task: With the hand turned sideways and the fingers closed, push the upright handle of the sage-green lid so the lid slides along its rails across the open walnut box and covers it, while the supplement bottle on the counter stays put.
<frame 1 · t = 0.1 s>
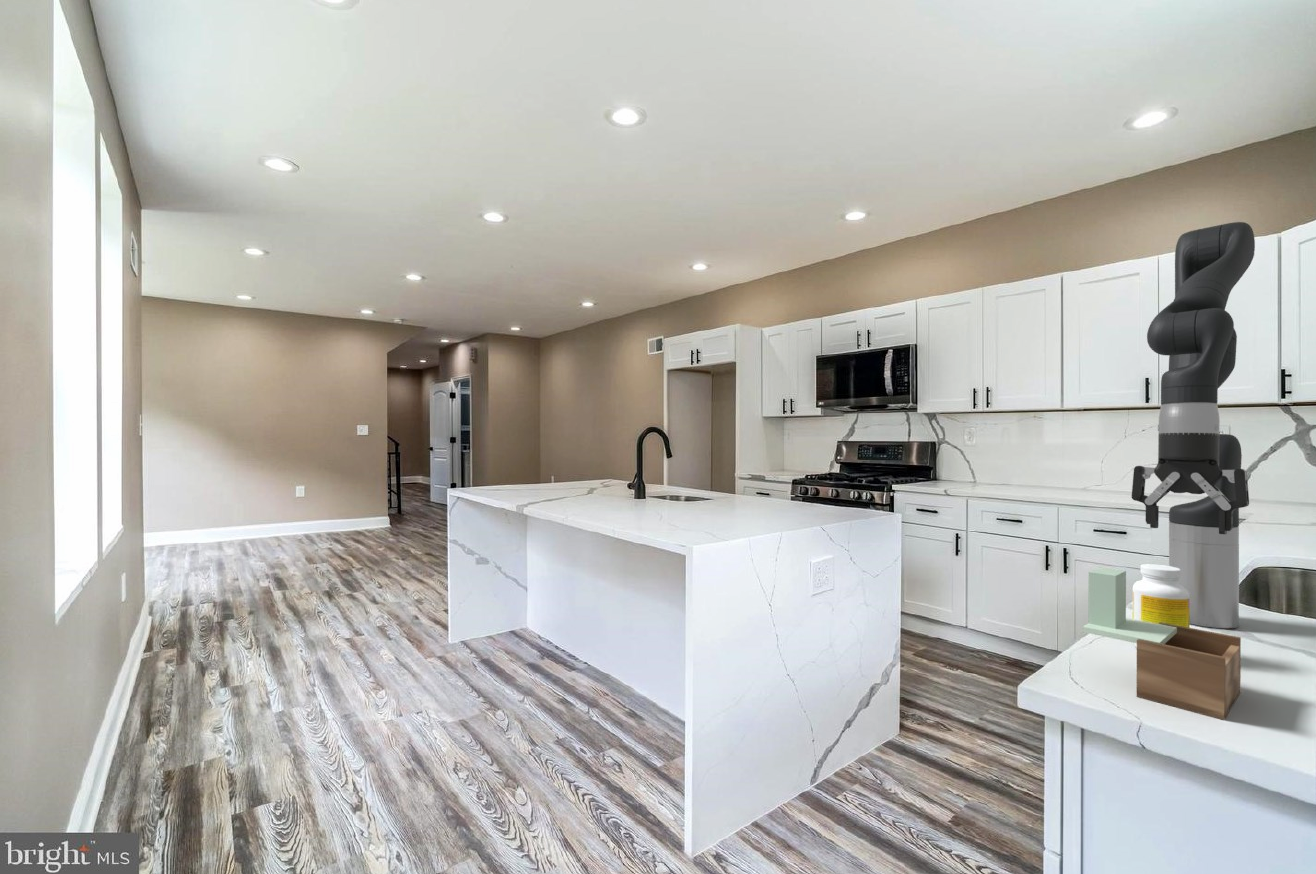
hand: (1187, 530, 98), 17 cm above the counter, tool pointing down, fingers open, 8 cm apart
walnut box: (1189, 694, 75), on the counter
supplement bottle: (1160, 653, 91), on the counter
sage lid: (1130, 603, 80), point 10 cm above the counter, slide at 6.0 cm
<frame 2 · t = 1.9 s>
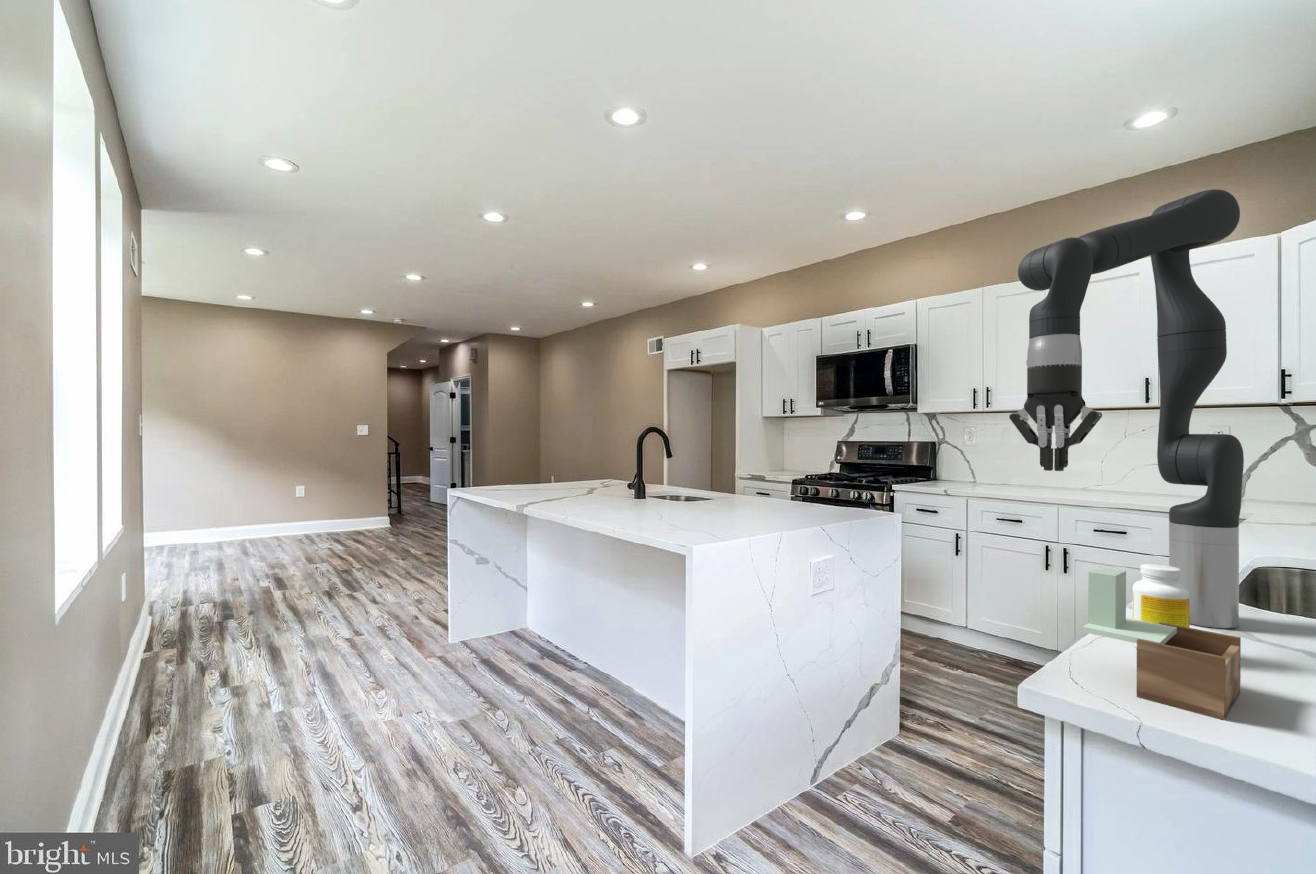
hand: (1053, 470, 99), 27 cm above the counter, tool pointing down, fingers closed
nothing on the counter moved.
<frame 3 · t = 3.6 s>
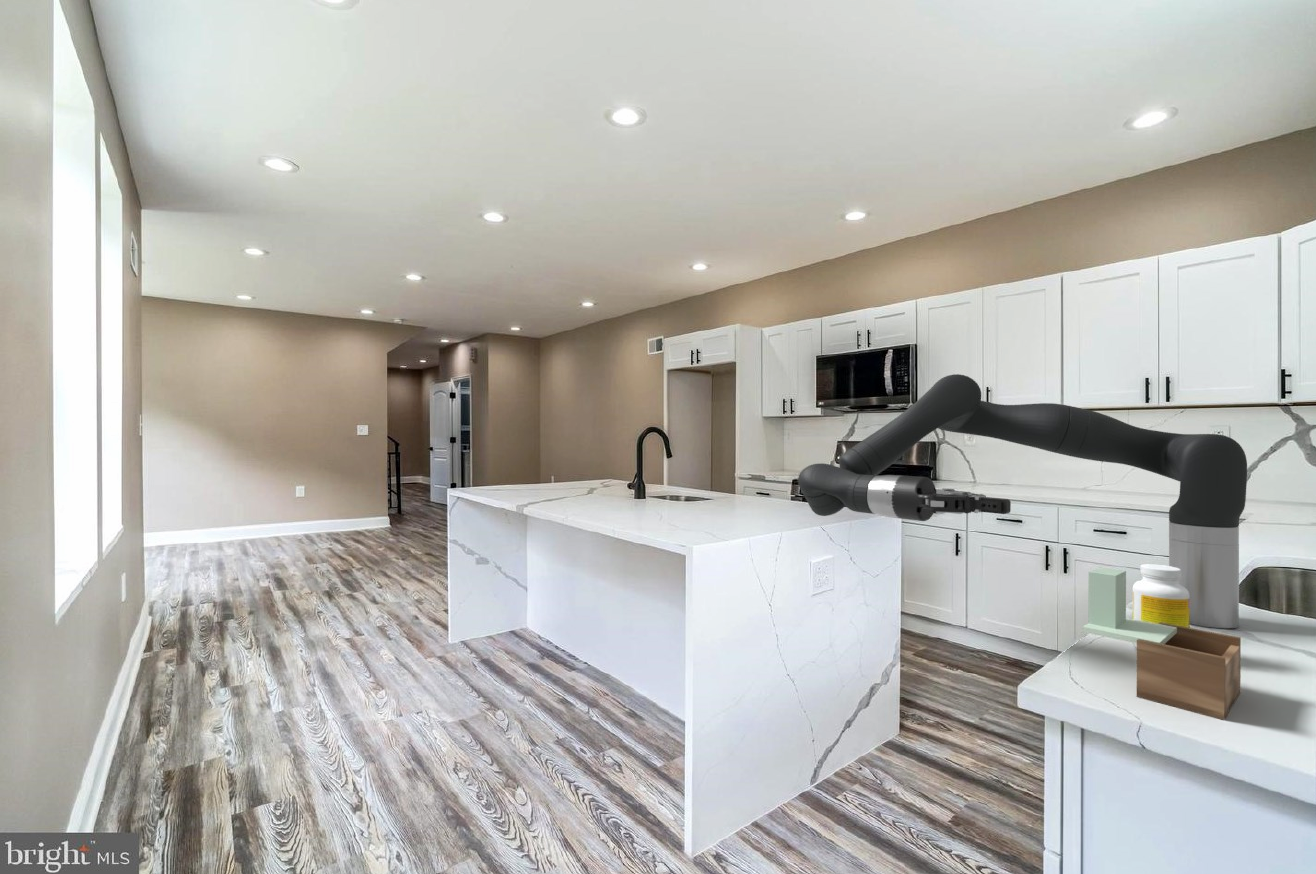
hand: (1008, 506, 92), 22 cm above the counter, tool horizontal, fingers closed
nothing on the counter moved.
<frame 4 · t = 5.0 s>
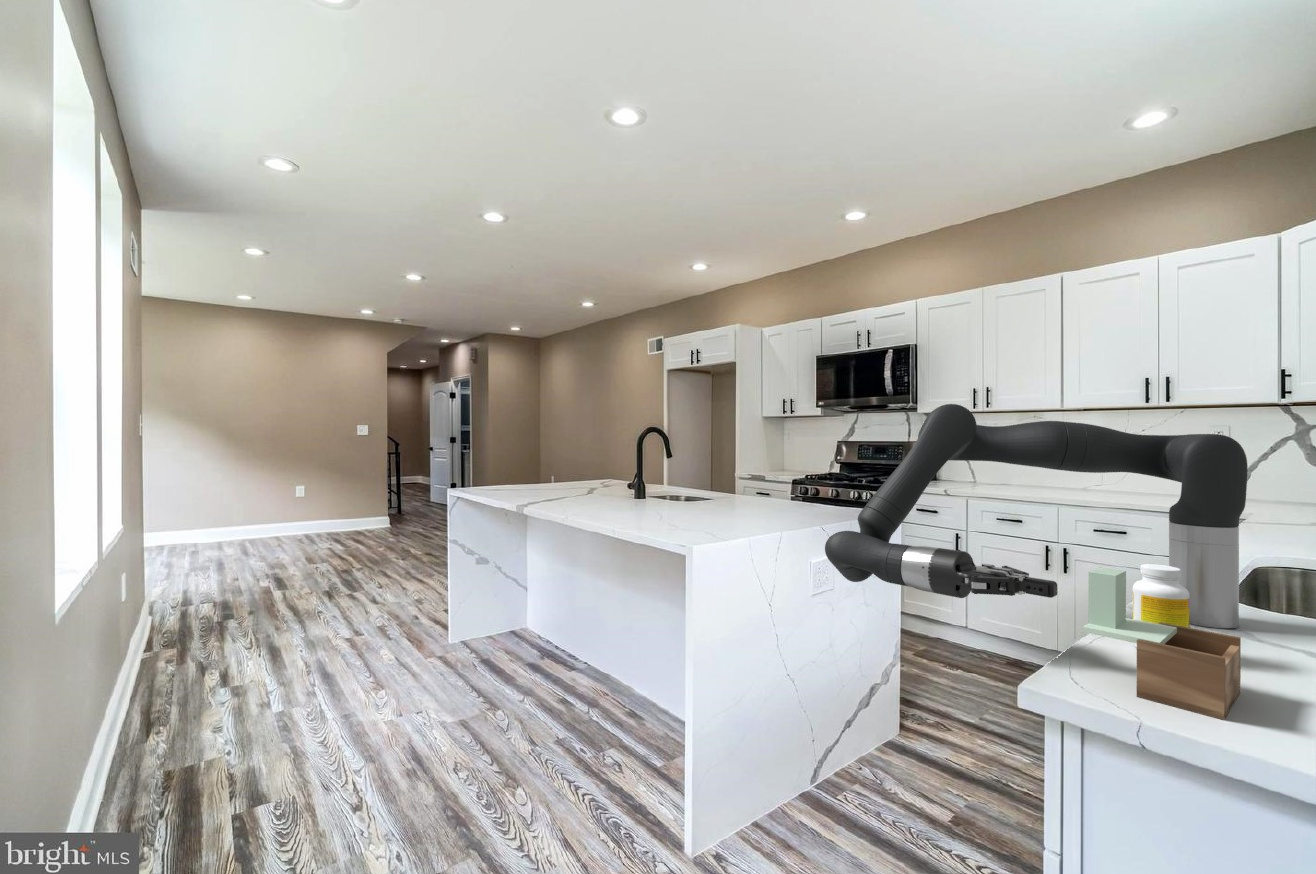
hand: (1055, 589, 87), 10 cm above the counter, tool horizontal, fingers closed
nothing on the counter moved.
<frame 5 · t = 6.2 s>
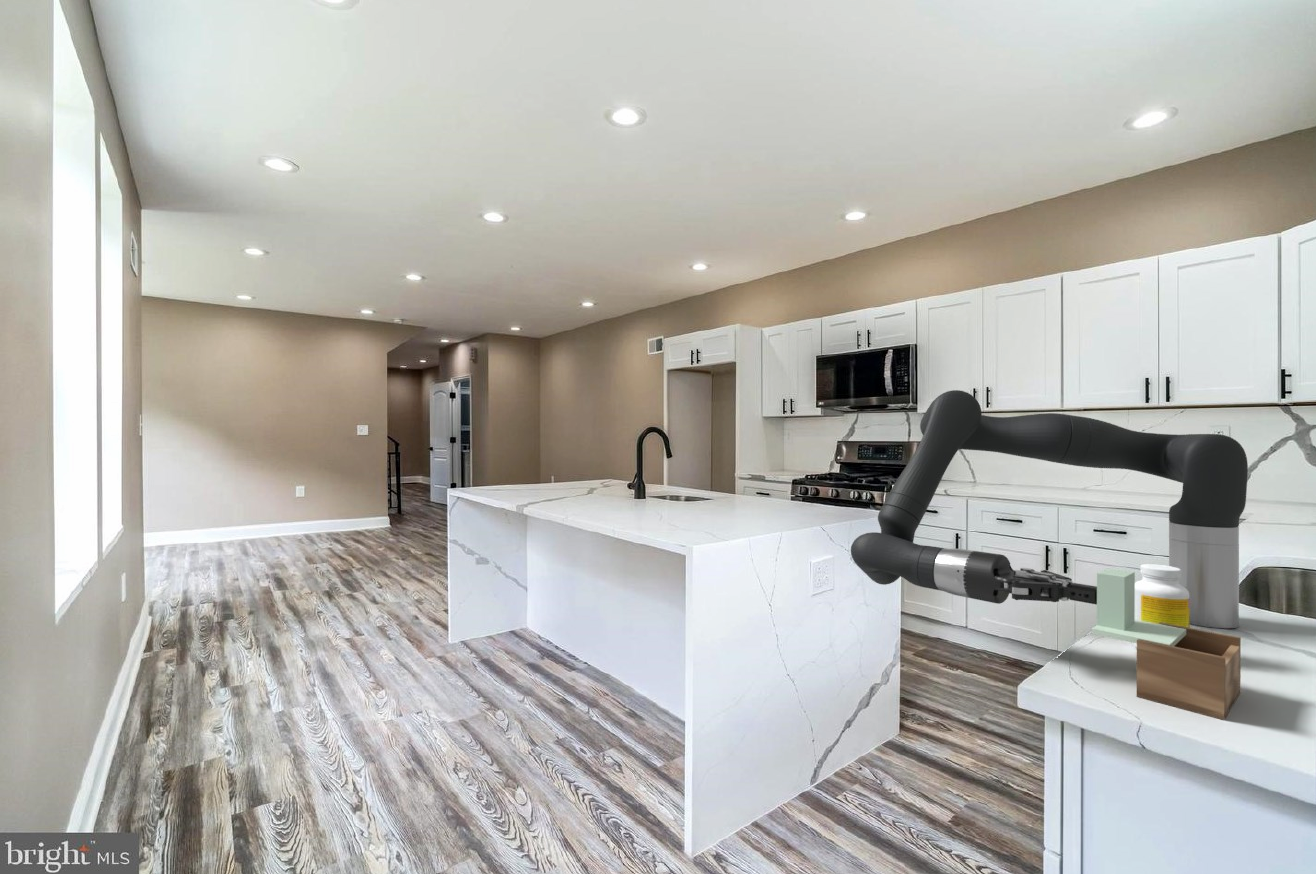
hand: (1102, 596, 83), 10 cm above the counter, tool horizontal, fingers closed
sage lid: (1138, 605, 79), point 10 cm above the counter, slide at 5.0 cm, touching gripper
everything else where it was.
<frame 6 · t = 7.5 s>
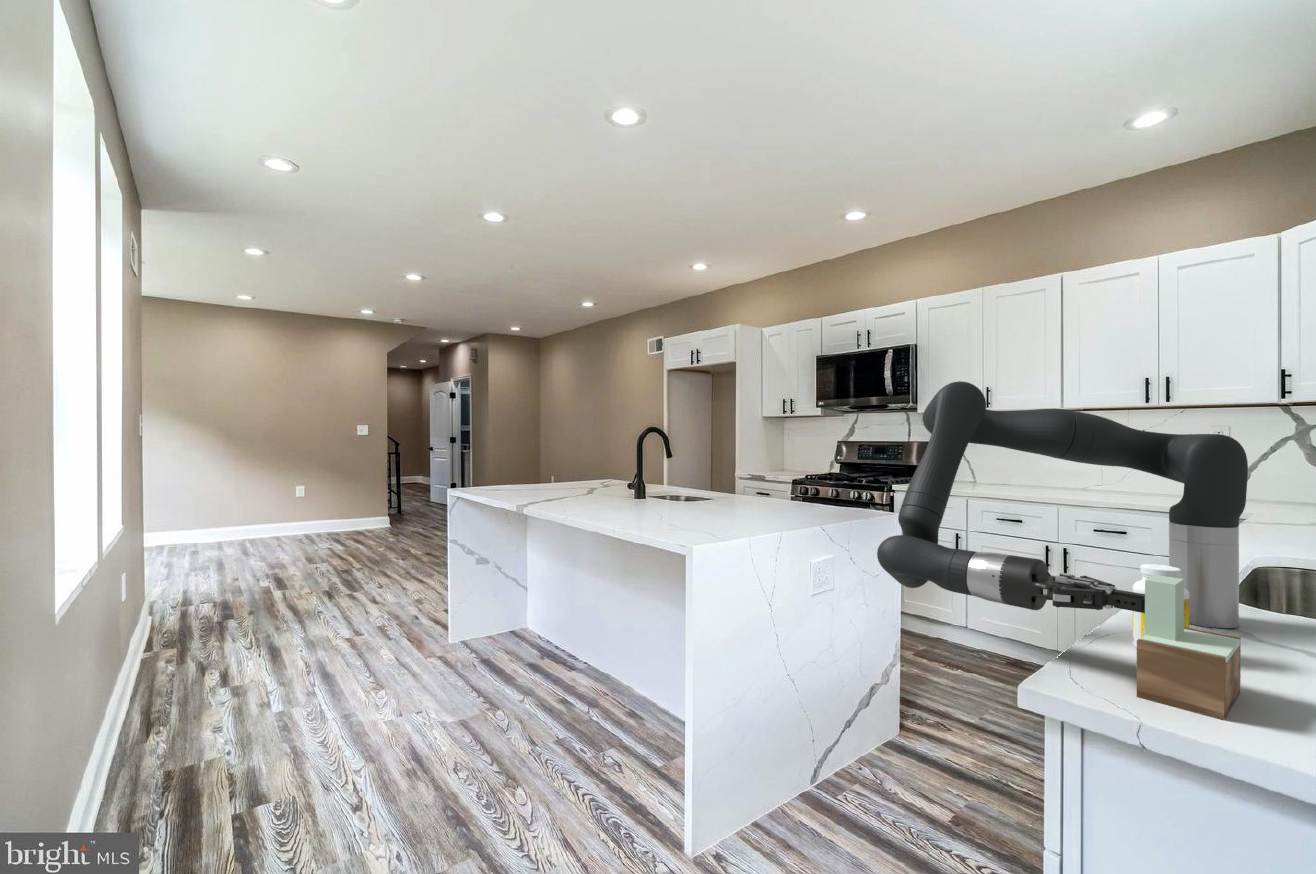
hand: (1149, 604, 79), 10 cm above the counter, tool horizontal, fingers closed
sage lid: (1190, 613, 75), point 10 cm above the counter, slide at -0.1 cm, touching gripper
everything else where it was.
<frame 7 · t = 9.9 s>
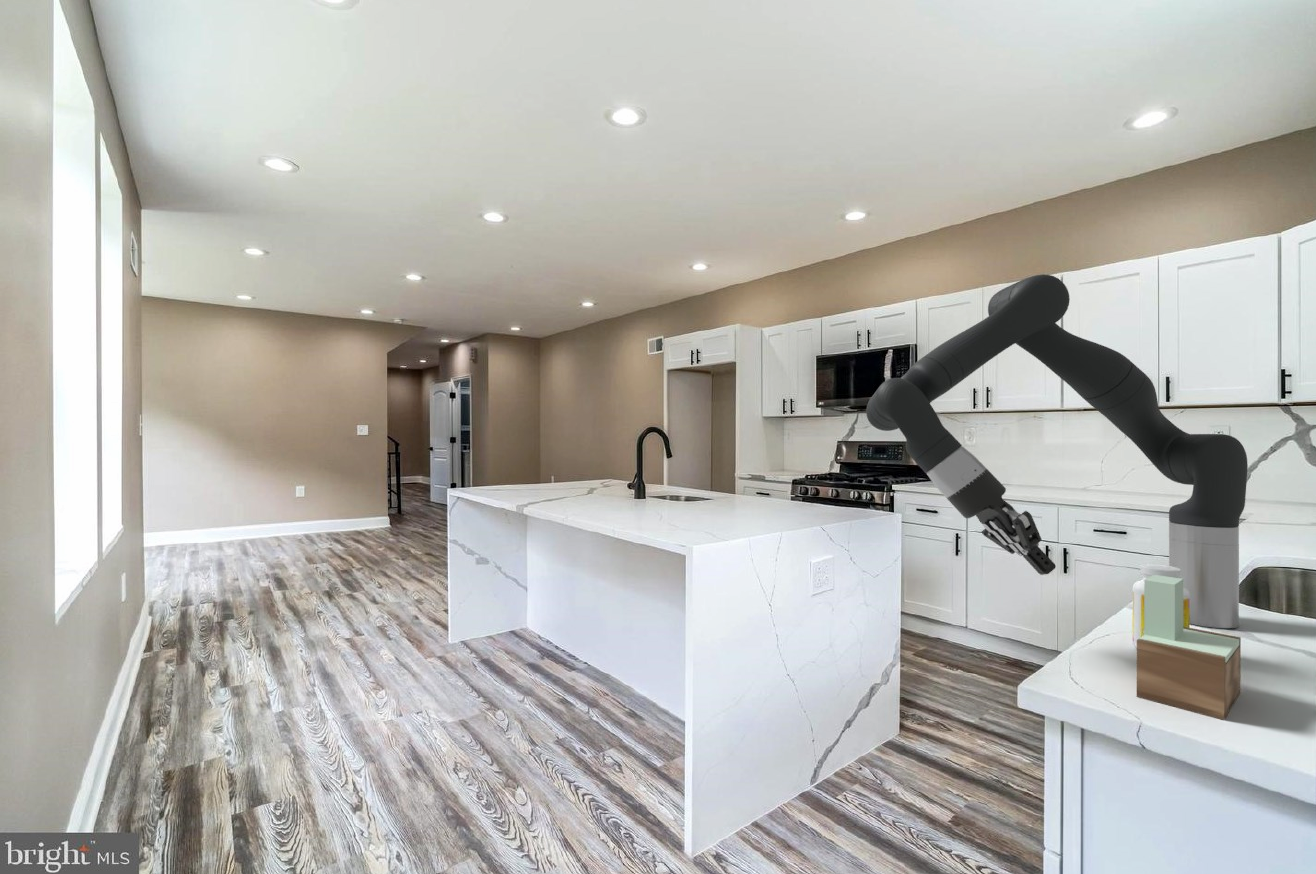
hand: (1048, 571, 90), 12 cm above the counter, tool tilted 40°, fingers closed
sage lid: (1189, 613, 76), point 10 cm above the counter, slide at 0.0 cm
everything else where it was.
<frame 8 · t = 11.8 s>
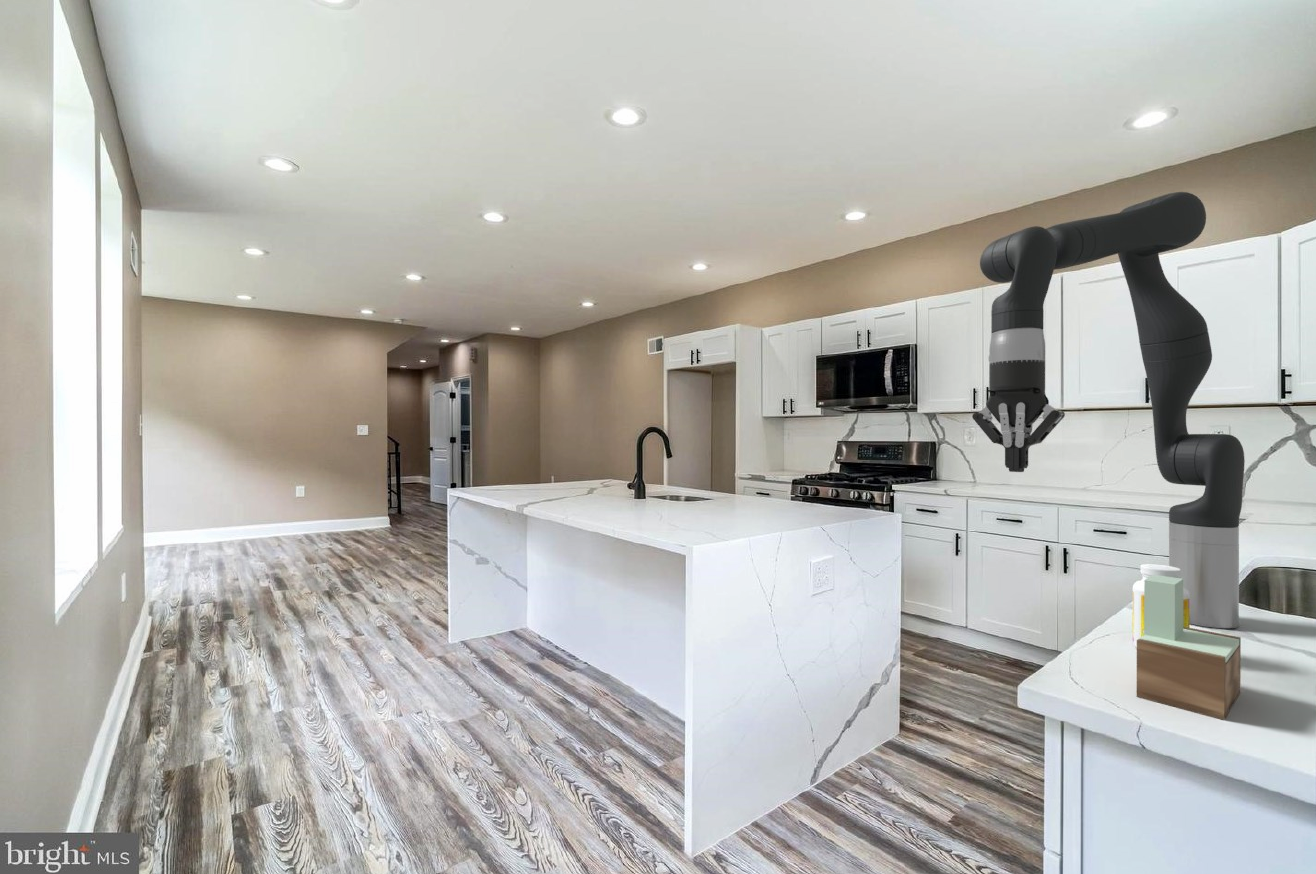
hand: (1016, 471, 94), 27 cm above the counter, tool pointing down, fingers closed
nothing on the counter moved.
at the end: sage lid slide at 0.0 cm; supplement bottle tilted 0° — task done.
